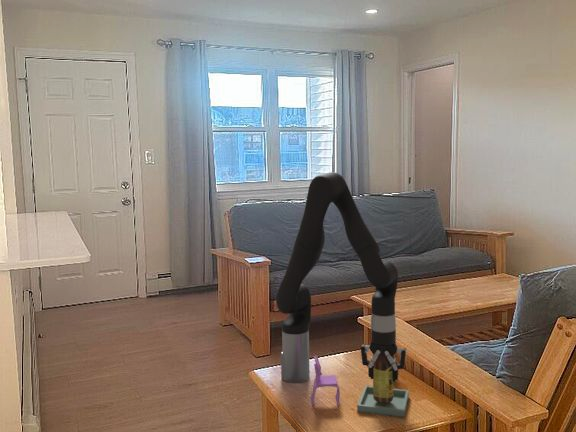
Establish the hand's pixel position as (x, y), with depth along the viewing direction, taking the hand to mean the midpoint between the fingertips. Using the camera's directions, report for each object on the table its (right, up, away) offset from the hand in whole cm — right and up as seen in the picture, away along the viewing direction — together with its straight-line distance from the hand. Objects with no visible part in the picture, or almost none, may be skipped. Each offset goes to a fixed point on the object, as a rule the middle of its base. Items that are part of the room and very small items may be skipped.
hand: (383, 379), depth 168 cm
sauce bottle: (0, -7, +1) cm, 7 cm away
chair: (-18, -8, +4) cm, 20 cm away
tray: (0, -8, +1) cm, 8 cm away
